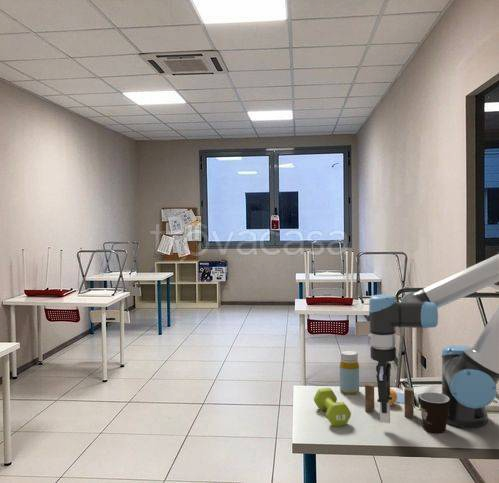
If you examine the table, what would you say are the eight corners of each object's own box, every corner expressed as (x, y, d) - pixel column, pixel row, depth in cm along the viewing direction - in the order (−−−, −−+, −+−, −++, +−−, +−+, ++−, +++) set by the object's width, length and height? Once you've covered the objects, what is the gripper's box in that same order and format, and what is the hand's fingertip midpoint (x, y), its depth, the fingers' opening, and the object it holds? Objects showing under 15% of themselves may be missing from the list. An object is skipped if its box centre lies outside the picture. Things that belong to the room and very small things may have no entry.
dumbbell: (352, 426, 153) (352, 404, 153) (328, 429, 152) (327, 406, 152) (334, 406, 170) (334, 385, 169) (312, 408, 168) (312, 387, 168)
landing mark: (408, 394, 177) (408, 393, 177) (406, 403, 169) (406, 403, 169) (383, 391, 181) (383, 390, 181) (379, 400, 173) (379, 400, 173)
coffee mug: (452, 436, 145) (452, 403, 144) (421, 435, 146) (421, 402, 146) (444, 419, 156) (444, 389, 155) (415, 418, 158) (415, 388, 157)
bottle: (351, 397, 176) (350, 356, 175) (336, 391, 182) (335, 352, 181) (363, 392, 181) (362, 352, 180) (348, 387, 186) (347, 348, 185)
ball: (396, 407, 165) (398, 402, 171) (396, 391, 165) (397, 386, 170) (380, 406, 167) (381, 401, 173) (379, 390, 167) (381, 385, 172)
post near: (413, 414, 160) (413, 387, 160) (412, 417, 158) (412, 390, 157) (405, 413, 161) (405, 386, 161) (404, 416, 159) (404, 389, 158)
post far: (374, 409, 165) (374, 383, 165) (373, 412, 163) (372, 386, 162) (366, 408, 166) (366, 382, 166) (365, 411, 164) (365, 385, 163)
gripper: (373, 339, 156) (376, 411, 157) (366, 351, 144) (369, 429, 145) (398, 341, 153) (400, 414, 154) (393, 353, 141) (395, 432, 142)
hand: (385, 421), depth 150 cm, fingers closed
